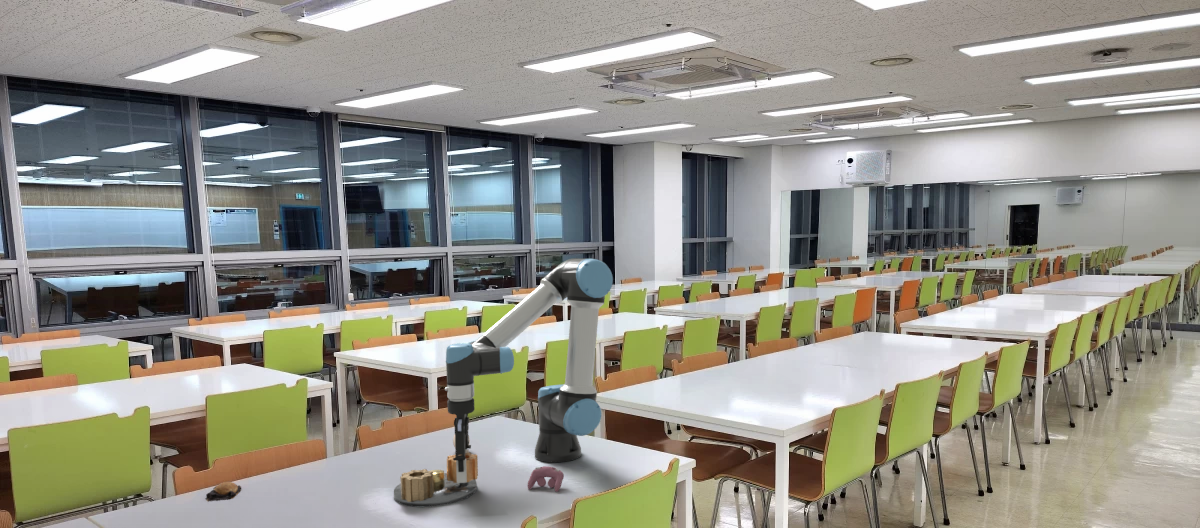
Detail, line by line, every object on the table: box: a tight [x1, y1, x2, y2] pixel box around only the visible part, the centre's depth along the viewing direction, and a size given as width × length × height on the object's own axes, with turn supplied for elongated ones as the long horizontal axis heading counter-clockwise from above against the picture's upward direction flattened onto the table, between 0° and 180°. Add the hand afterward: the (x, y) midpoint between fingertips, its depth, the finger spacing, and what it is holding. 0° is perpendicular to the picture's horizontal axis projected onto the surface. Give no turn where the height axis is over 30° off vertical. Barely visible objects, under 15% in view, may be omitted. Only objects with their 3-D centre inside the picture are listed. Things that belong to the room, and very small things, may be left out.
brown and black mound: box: [205, 481, 242, 502], centre depth 210 cm, size 11×8×4 cm
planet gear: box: [446, 452, 479, 483], centre depth 208 cm, size 8×8×6 cm
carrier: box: [393, 468, 478, 508], centre depth 207 cm, size 23×23×8 cm
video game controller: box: [527, 465, 565, 493], centre depth 208 cm, size 10×5×7 cm, turn 71°
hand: (463, 476), depth 208 cm, fingers closed on planet gear, 8 cm apart
